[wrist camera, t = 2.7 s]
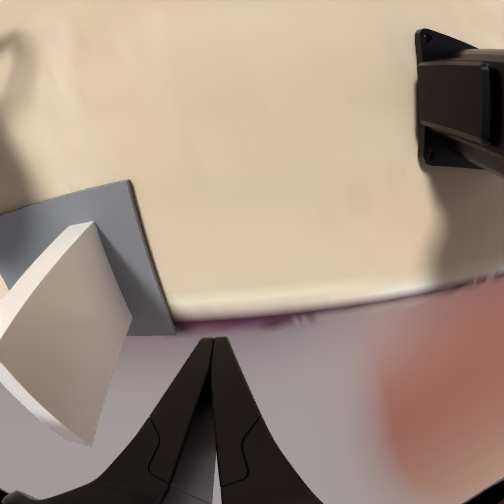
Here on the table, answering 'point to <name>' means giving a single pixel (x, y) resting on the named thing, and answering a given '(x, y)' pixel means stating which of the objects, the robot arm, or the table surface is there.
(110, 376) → the tile
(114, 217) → the mat
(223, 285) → the table surface
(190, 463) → the robot arm
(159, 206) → the table surface
